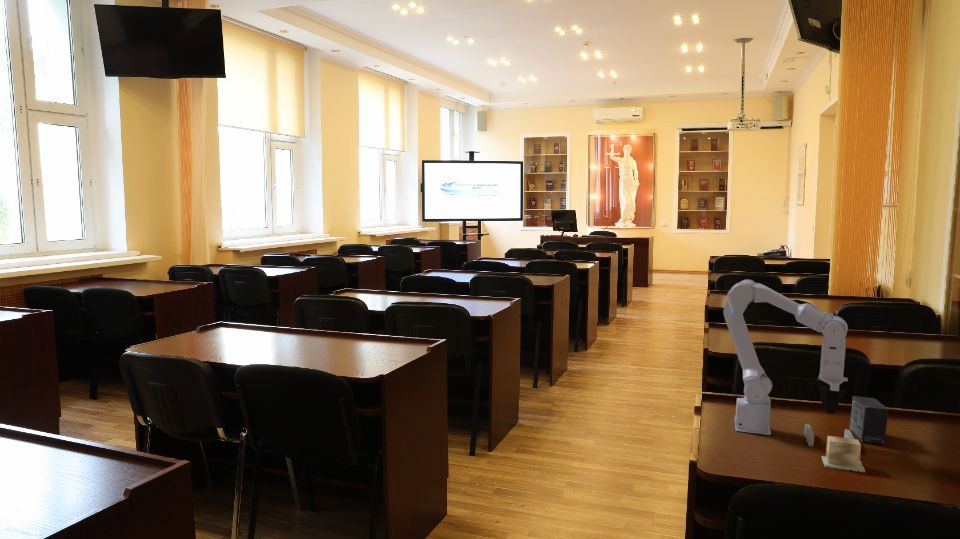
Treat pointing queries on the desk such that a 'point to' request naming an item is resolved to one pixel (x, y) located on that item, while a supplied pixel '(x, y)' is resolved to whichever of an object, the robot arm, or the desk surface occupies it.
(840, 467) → the mat
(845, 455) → the block
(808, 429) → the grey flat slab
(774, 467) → the desk surface
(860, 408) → the small box
